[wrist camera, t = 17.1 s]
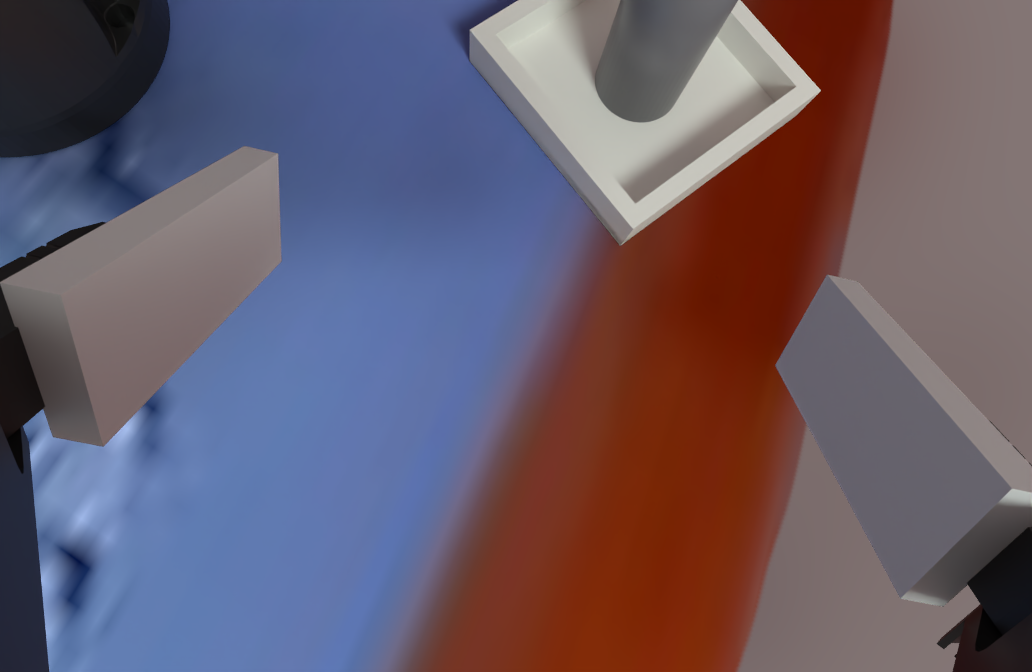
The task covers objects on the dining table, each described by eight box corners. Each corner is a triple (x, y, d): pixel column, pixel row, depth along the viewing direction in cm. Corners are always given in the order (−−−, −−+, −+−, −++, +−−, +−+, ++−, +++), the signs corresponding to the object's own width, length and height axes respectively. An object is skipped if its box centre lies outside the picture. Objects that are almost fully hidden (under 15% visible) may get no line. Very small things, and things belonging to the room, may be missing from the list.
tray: (469, 60, 33) (469, 29, 30) (648, -51, 35) (662, -88, 33) (620, 245, 32) (633, 229, 29) (795, 116, 34) (820, 90, 32)
